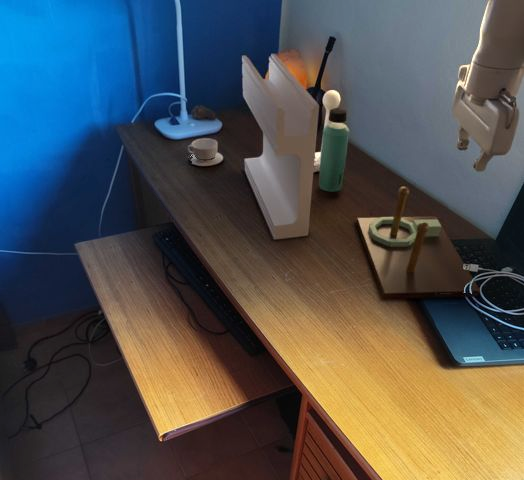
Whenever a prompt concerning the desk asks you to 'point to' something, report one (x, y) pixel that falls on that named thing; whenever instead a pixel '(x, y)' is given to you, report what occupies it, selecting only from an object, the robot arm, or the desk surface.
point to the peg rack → (415, 260)
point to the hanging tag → (433, 227)
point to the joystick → (327, 118)
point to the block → (282, 147)
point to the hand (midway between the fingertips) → (469, 159)
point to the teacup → (205, 152)
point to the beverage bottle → (334, 151)
